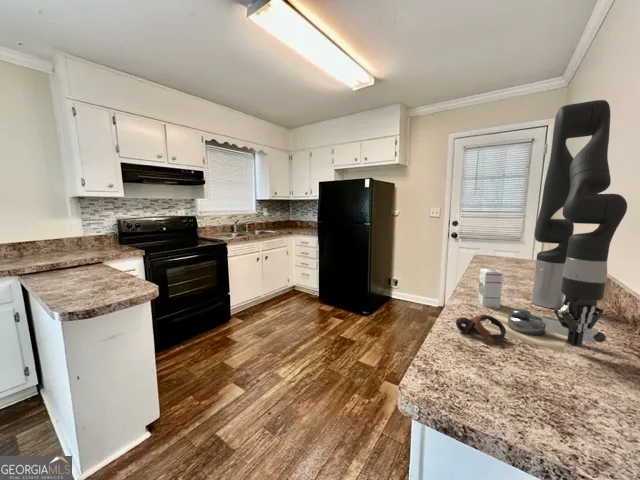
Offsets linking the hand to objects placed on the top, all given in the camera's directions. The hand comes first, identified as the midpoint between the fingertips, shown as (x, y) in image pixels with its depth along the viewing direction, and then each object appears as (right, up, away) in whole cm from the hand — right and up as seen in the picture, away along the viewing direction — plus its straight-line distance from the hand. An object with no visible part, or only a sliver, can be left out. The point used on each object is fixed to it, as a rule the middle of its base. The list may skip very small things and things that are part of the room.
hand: (574, 344), depth 68 cm
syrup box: (-1, +1, +33) cm, 33 cm away
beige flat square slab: (-3, -2, +13) cm, 13 cm away
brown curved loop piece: (-19, -2, +9) cm, 21 cm away
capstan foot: (+1, -1, +8) cm, 8 cm away
